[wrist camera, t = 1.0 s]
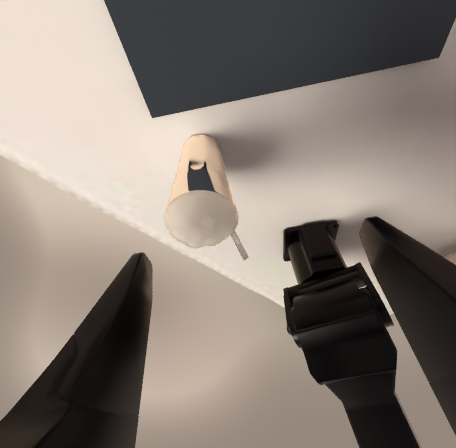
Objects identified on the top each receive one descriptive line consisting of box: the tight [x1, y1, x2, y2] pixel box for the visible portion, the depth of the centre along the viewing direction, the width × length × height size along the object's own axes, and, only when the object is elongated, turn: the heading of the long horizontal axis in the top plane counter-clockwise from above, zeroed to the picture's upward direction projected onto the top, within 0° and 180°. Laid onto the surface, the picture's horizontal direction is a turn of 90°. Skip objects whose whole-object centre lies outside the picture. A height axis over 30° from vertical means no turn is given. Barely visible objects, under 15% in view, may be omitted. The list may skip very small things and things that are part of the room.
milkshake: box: [164, 135, 248, 260], centre depth 17 cm, size 4×5×10 cm
